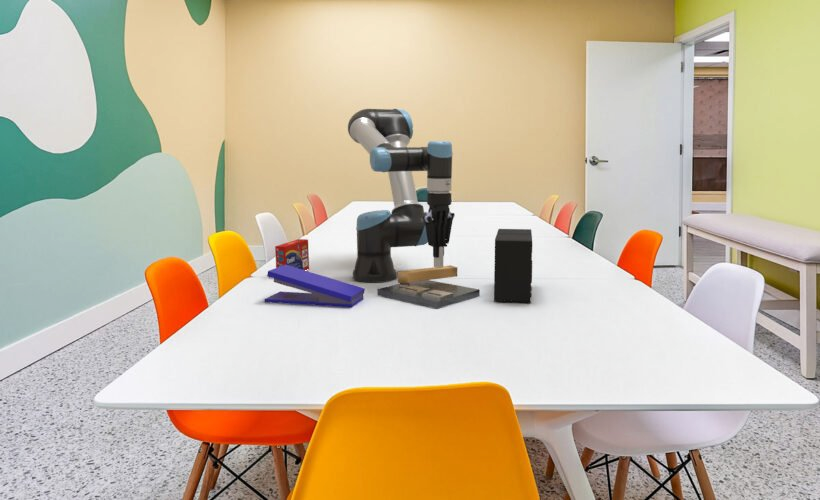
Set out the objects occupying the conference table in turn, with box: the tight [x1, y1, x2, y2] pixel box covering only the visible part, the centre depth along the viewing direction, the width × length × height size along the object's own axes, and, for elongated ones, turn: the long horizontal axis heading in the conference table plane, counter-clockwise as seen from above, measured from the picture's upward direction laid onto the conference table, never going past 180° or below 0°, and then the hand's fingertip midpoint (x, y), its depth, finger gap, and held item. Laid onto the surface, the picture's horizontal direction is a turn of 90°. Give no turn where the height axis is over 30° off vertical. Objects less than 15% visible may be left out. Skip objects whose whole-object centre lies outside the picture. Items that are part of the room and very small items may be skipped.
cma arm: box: [397, 265, 458, 284], centre depth 187 cm, size 20×4×3 cm, turn 119°
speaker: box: [493, 228, 533, 304], centre depth 180 cm, size 25×11×19 cm, turn 169°
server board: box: [376, 280, 481, 310], centre depth 178 cm, size 24×20×3 cm
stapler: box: [263, 265, 366, 308], centre depth 173 cm, size 12×28×10 cm, turn 75°
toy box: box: [274, 238, 310, 271], centre depth 212 cm, size 18×4×12 cm, turn 164°
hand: (438, 266), depth 184 cm, fingers closed
